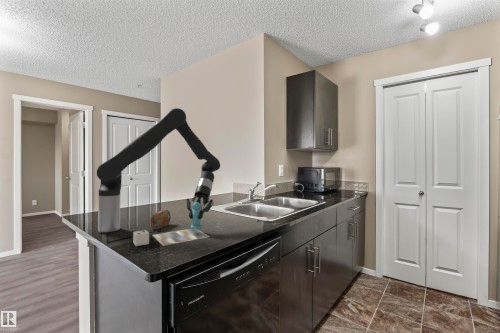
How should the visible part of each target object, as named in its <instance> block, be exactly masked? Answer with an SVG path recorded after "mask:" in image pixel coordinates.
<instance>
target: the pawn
mask: <svg viewBox="0 0 500 333" xmlns="http://www.w3.org/2000/svg"><path fill="white" fill-rule="evenodd" d="M192 204H193V205H192ZM192 204H191V207H192V208H193V209H192V219H191V221H192V222H191V225H190V229H197V230H200V229H202V228H203V224H201V219H202V218H201V219H199V218H198V216H199V213H200V210H201V204H200V203H199V202H195V203H193V202H192Z"/></svg>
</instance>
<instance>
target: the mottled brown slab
mask: <svg viewBox="0 0 500 333" xmlns="http://www.w3.org/2000/svg"><path fill="white" fill-rule="evenodd" d="M171 218H172V217H171V212H170V210H168V209H163V210H160V211H157V212H155V213H153V214H152V215H151V216H150V227H151V229H152V230H156V231H157V230H159V229H162V228H163V227H168V226H169V224H170V222H171Z"/></svg>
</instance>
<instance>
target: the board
mask: <svg viewBox="0 0 500 333" xmlns="http://www.w3.org/2000/svg"><path fill="white" fill-rule="evenodd" d="M151 236H152V237H153V238H154V239H155V240H156V241H157V242H159V244H160V245H162V246H163V247H164V246H169V245H174V244H179V243H184V242H188V241H189V242H190V241H195V240H202V239H206V238H210V237H211V236H210V235H208V234H207V233H204V232H203V231H202V230H200V229H191V228H186V229H180V230H174V231H168V232H163V233H156V234H152V235H151Z"/></svg>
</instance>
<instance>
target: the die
mask: <svg viewBox="0 0 500 333" xmlns="http://www.w3.org/2000/svg"><path fill="white" fill-rule="evenodd" d="M132 243H133V244H134V246H135V247H139V246H144V245H149V244H150V232H149V231H148V230H147V229H144V230H137V231H133V233H132Z"/></svg>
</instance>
